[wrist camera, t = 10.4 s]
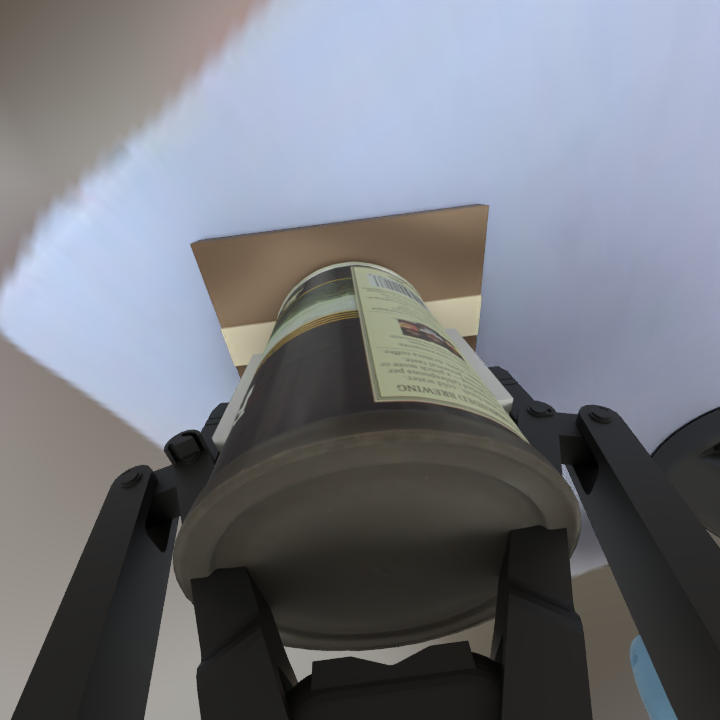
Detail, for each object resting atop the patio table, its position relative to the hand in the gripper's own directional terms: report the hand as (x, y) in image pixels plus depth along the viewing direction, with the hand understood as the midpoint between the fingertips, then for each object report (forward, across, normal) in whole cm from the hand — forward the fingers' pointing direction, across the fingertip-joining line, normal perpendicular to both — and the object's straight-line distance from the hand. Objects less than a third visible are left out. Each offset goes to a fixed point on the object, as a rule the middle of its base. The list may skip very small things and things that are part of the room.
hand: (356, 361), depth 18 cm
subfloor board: (+6, 0, +1) cm, 6 cm away
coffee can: (+3, 0, 0) cm, 3 cm away
